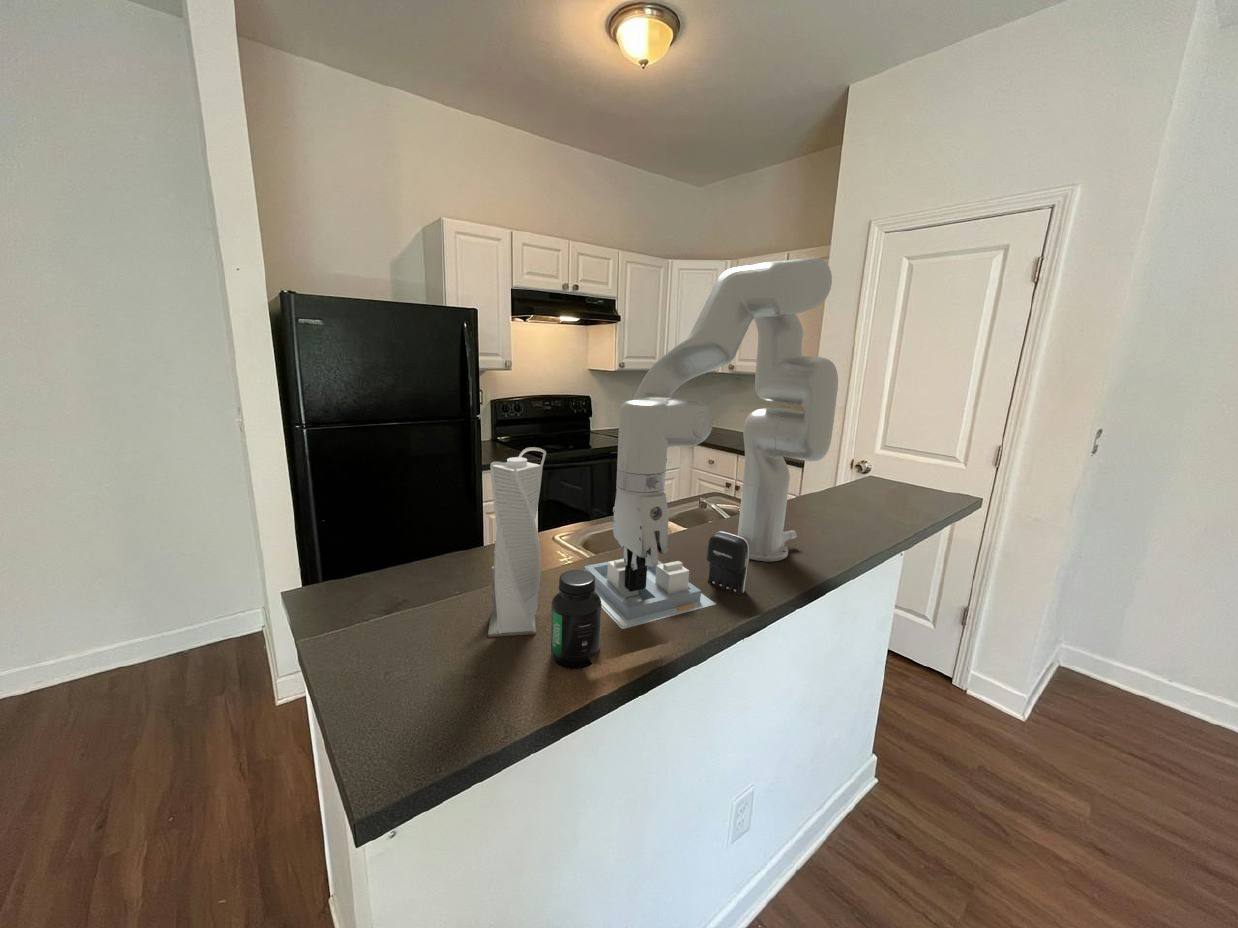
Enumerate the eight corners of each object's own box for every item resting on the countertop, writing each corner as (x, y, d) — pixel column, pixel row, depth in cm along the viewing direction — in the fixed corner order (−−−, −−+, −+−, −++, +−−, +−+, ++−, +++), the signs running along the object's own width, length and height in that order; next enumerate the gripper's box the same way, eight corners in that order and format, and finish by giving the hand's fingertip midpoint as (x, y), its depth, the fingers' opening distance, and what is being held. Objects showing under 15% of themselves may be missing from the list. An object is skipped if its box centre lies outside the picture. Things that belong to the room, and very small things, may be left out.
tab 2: (673, 587, 86) (675, 557, 84) (687, 597, 82) (689, 566, 81) (654, 591, 84) (656, 560, 83) (667, 602, 80) (669, 570, 79)
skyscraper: (544, 609, 80) (545, 442, 74) (545, 637, 72) (547, 454, 66) (491, 612, 79) (488, 442, 72) (487, 641, 71) (482, 453, 64)
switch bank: (652, 564, 98) (653, 548, 98) (715, 612, 81) (717, 593, 81) (570, 581, 90) (570, 564, 89) (621, 637, 73) (622, 616, 72)
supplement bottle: (552, 673, 64) (553, 590, 62) (549, 643, 71) (550, 567, 68) (603, 668, 66) (606, 587, 63) (595, 639, 72) (597, 565, 70)
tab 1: (626, 584, 86) (628, 553, 85) (638, 594, 83) (640, 562, 82) (606, 588, 84) (608, 557, 83) (617, 598, 81) (619, 566, 80)
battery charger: (700, 592, 88) (705, 533, 85) (711, 585, 91) (716, 528, 88) (735, 606, 84) (742, 544, 81) (745, 598, 86) (752, 538, 84)
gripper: (689, 490, 71) (680, 604, 75) (636, 467, 84) (631, 566, 88) (645, 496, 67) (639, 615, 72) (597, 471, 80) (594, 573, 84)
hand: (635, 587), depth 80 cm, fingers closed
